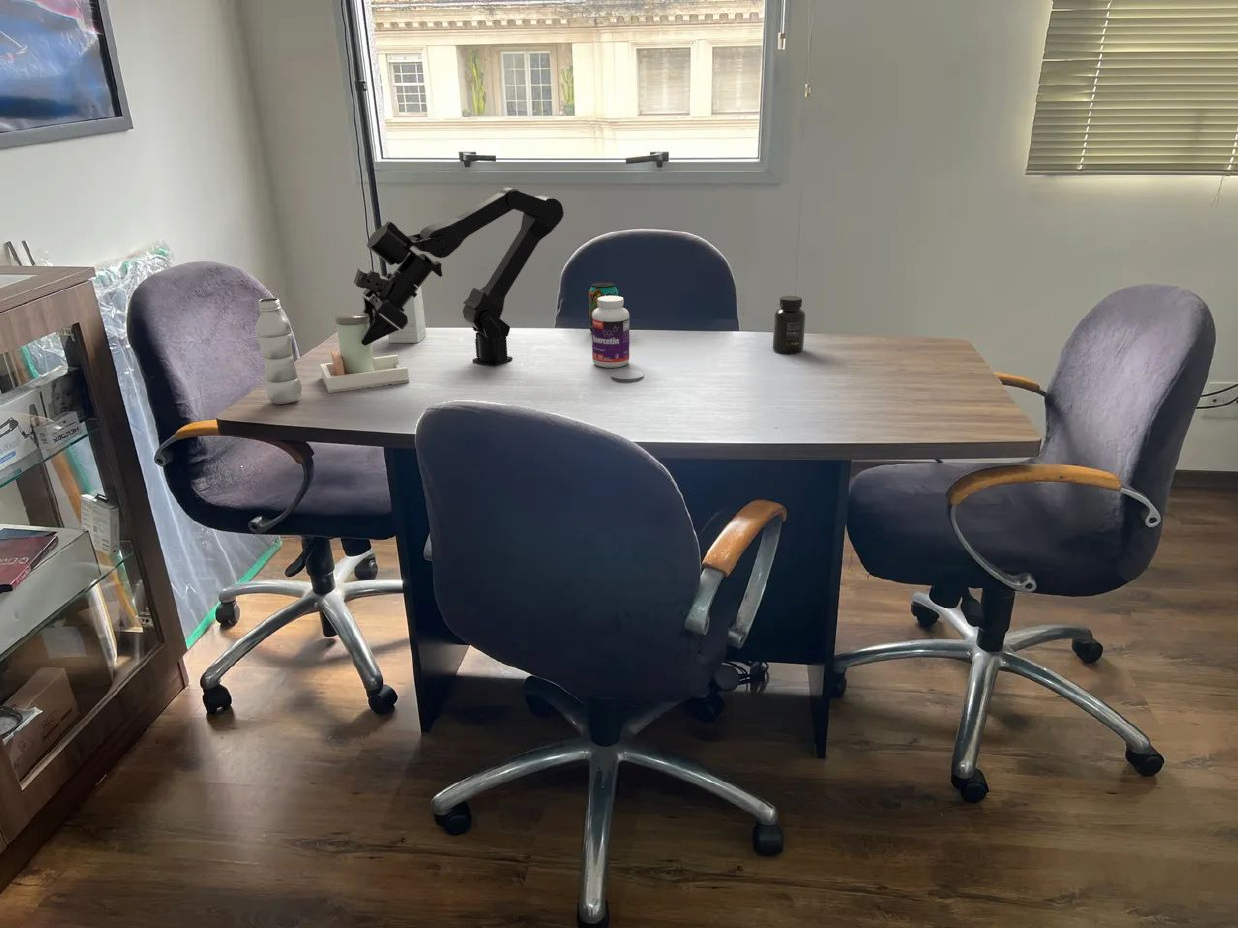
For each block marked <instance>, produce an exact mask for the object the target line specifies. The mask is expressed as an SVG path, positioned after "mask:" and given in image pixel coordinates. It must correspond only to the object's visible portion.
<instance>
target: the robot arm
mask: <svg viewBox="0 0 1238 928" xmlns="http://www.w3.org/2000/svg"><path fill="white" fill-rule="evenodd" d="M513 210H515V211H518V212H522V213H523V215H522V218H521V219H522V220H521V225H520V230H519V231H518V233H517V235H516V236H515V238H514V240H513V241H512V243H511V245H510V246H509V248H508V250H507V251H506V253H505V254H504V256H503V257H502V258H501V261H500V263H499V264H498V266H497V267H496V269H495V270H494V272H493V274H492V276H491V277H490V279H489V281H488V282H487V283H486V284H485V286H483V287H482V288H480V289H478V288H476V287H473V288H472V289H471V291H470V293H469V295H468V297H467V298H466V300H464V301H463V302H462V303H463V304H464V305H463V308H462V313H463V315H462V316H463V318H464V320H465V322H466V323H468V325H470V326H471V327H472V330H473V332H475V338H474V339H475V340H474V341H475V353H476V355H475V356H476V357H474V358H472V362H473V363H477V364H481V365H482V364H483V365H487V366H491V367H495V366H498V365H500V364H503V363H507V362H509V361H511V360H513V358H514V357H513V356H508V344H507V343H508V342H507V337H508V336H509V333H510V331H511V330H510V329H511V326H509V324H507V323H506V322H505V321H504V320H502V319H501V318H502V317H501V316H502V314H503V311H504V306H505V300H506V296H507V294H508V292H509V291H510V289H511V288H512V286H513V285H514V283H515V282H516V280H517V278H518V277H519V275H520V274H521V272H522V270H523V269H524V267H525V266H526V265H525V264H526V263H527V262H528V261H529V258H530V257H531V256H532V254H533V252H534V251H535V249H536V247H537V245H538V244H539V243H540V241H541V240H543V239H544V238H545V237H547V235H549V234H551V232H552V231H554V230H555V229H556V227H557V226H558V225H559V224H560V223H561V221H562V220H563V218H564V214H565V212H564V207H563V205H562V203H561V201H559V200H558V199H556V198H553V197H549V196H545V195H535V196H534V195H531V194H527V193H524V192H521V191H520V190H519V189H515V188H511V187H503V188H502V189H500V191H499V192H497V193H496V194H494V195H492V196H490V197H489V198H486V199H485V200H484V201H481V202H480V203H479V204H476V205H475V206H473V207H472V208H469V209H468V210H467V211H465V212H463V213H461V214H460V215H458V216H456V217H453V218H450V219H447V220H442V221H439V222H437V223H433V224H430V225H428V226H425V227H424V228H422V229H421V230H420V232H419V233H416V234H411V235H408V236H407V235H406V234H405V233H403V232H402V230H400V229H399V228H398V226H397V225H396V224H394V223H393V222H392V221H390V220H387V221H386V223H385V224H384V225H382V226H380V227H379V228H378V229H377V230H376V231H374V232H373V233H372V234H371V236H370V237H369V239H368V241H367V243H366V244H367V245H366V247H367V248H368V249H369V250H370V251H372V253H374V254H376V255H377V256H378V257H379V258H380V259H382V260H383V261H384V262H386V263H387V264H388V265H389V266H393V265H399V266H397V268H396V270H394V272H393V273H392V272H388V273H387V274H386V275H385V276H383V275H381V274H380V273H379V272H378V271H374V270H372V269H371V270H366V269H364V268H361V267H358V268H357V271H356V274H355V277H354V280H353V284H355V286H356V287H358V288H360V289H365V290H364V291H363V292H362V294H363V295H364V296H362V300H363V301H362V302H363V310H362V313H367V314H369V324H370V327H369V329H368V330H367V332H366V334H365V335H364V337H363V339H362V341H361V343H362V344H363V345H364V346H366V345H368V344H370V343H372V344H373V343H374V342H376V341H378V340H380V339H382V338H385V337H387V336H388V335H389V334H391V333H393V332H395V331H399V329H398V327H399V328H400V329H402V330H403V328H404V327H405V326H406V325H407V323H408V318H407V315H406V314H405V313H404V310H405V309H404V308H403V307H404V306H405V305H406V303H407V302H408V301H409V300H410V299H411V297H412V296H413V297H414V298H415V297H416V296H417V293H416V291H417V290H418V289H419V287H420V286H421V287H422V285H423V284H424V283H425V281H426V280H427V279H428V277H429V276H430V275H431V274H432V272H433V273H434V274H436V275H437V276H438V277H439V278H441V277H443V272H442V271H443V270H442V262H440V261H439V260H437V261H435V260H433V259H431V258H429V257H428V256H427V254H428V255H430V256H433V257H434V258H437V259H444V258H448V257H449V256H450V255H451V254H453V252H455V251H456V250H457V249H458V248H459V247H461V245H462V244H463V242H464V241H465V240H466V239H467V238H468V237H469V236H470V235H472V234H474V233H475V232H477V231H479V230H481V229H482V228H484V227H485V226H487V225H489V224H492V223H493V222H494V221H496V220H498V219H499V218H501V217H503V216H505V215H506V214H508V213H509V212H511V211H513ZM411 248H413V249H414V250H415V249H416V250H417V251H419V252H425V253H426V254H425V253H420V254H417V253H416V252H414V251H413V250H412V249H411ZM416 286H417V287H418V288H417V287H416ZM397 326H398V327H397Z"/></svg>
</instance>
